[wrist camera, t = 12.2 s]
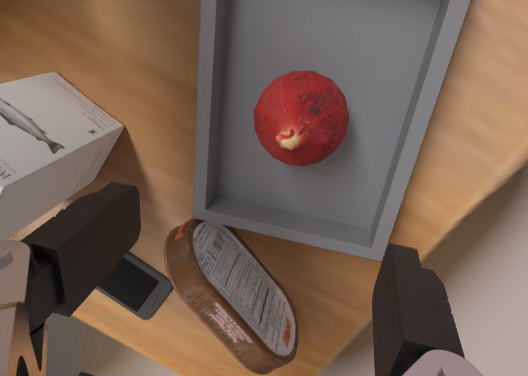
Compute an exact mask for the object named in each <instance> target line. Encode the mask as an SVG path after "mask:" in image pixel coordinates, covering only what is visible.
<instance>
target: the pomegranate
mask: <svg viewBox="0 0 528 376" xmlns="http://www.w3.org/2000/svg"><path fill="white" fill-rule="evenodd" d="M348 121H349V113H348V108H347V103H346V98H345V96H344V94H343V93H342V92H341V90H340V89H339V88H338V86H337V85H336V84H335V83H334V81H333V80H332V79H330V78H328V77H326V76H323V75H321V74H319V73H317V72H315V71H292V72H289V73H287V74H284V75H282V76H280V77H277V78H275V79H274V80H273V81H272V82H271V83H270V84H269V85H268V86H267V87H266V88H265V89H264V90H263V92H262V94H261V96H260V98H259V100H258V102H257V104H256V107H255V109H254V129H255V132H256V134H257V136H258V139H259V141H260V143H261V145H262V146H263V147H264V149H265V150H266V151H267V152H268V153H269V154H270V155H271V156H272V157H273V158H275V159H277V160H279V161H281V162H283V163H285V164H287V165H295V166H302V167H304V166H308V165H312V164H316V163H319V162H321V161H322V160H324V159H325V158H327V157H328V156H329V155H331V154H332V153H334V152H335V150H336V149H337V148H338V146H339V145H340V143H341V142H342V140H343V139H344V137H345V135H346V131H347V126H348Z"/></svg>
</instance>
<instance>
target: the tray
mask: <svg viewBox="0 0 528 376" xmlns="http://www.w3.org/2000/svg"><path fill="white" fill-rule="evenodd" d="M469 3H470V0H201V3H200V30H199V58H198V85H197V113H196V140H195V168H194V196H193V218H196V219H200V220H204V221H209V222H213V223H217V224H221V225H226V226H230V227H234V228H239V229H243V230H247V231H251V232H256V233H260V234H264V235H269V236H273V237H277V238H281V239H286V240H290V241H294V242H299V243H303V244H307V245H311V246H316V247H320V248H324V249H329V250H333V251H337V252H342V253H346V254H350V255H354V256H359V257H363V258H367V259H372V260H376V261H380V262H382V259H383V256H384V253H385V250H386V247H387V244H388V241H389V238H390V235H391V232H392V229H393V226H394V224H395V221H396V218H397V215H398V212H399V209H400V206H401V203H402V200H403V197H404V194H405V191H406V188H407V185H408V182H409V179H410V177H411V174H412V171H413V168H414V165H415V162H416V159H417V156H418V153H419V150H420V147H421V144H422V141H423V138H424V135H425V133H426V130H427V127H428V124H429V121H430V118H431V115H432V112H433V109H434V106H435V103H436V100H437V97H438V94H439V91H440V89H441V86H442V83H443V80H444V77H445V74H446V71H447V68H448V65H449V62H450V59H451V56H452V53H453V50H454V47H455V45H456V42H457V39H458V36H459V33H460V30H461V27H462V24H463V21H464V18H465V15H466V12H467V9H468V6H469ZM292 71H315V72H317V73H319V74H321V75H323V76H326V77H328V78H330V79H332V80H333V81H334V83H335V84H336V85H337V86H338V88H339V89H340V90H341V92H342V93H343V94H344V96H345V98H346V103H347V108H348V113H349V121H348V126H347V131H346V135H345V137H344V139H343V140H342V142H341V143H340V145H339V146H338V148H337V149H336V150H335V152H334V153H332V154H331V155H329V156H328V157H327V158H325V159H324V160H322V161H321V162H319V163H316V164H312V165H308V166H304V167H302V166H295V165H287V164H285V163H283V162H281V161H279V160H277V159H275V158H273V157H272V156H271V155H270V154H269V153H268V152H267V151H266V150H265V149H264V147H263V146H262V145H261V143H260V141H259V139H258V136H257V134H256V132H255V129H254V109H255V107H256V104H257V102H258V100H259V98H260V96H261V94H262V92H263V90H264V89H265V88H266V87H267V86H268V85H269V84H270V83H271V82H272V81H273V80H274V79H275V78H277V77H280V76H282V75H284V74H287V73H289V72H292Z"/></svg>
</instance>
